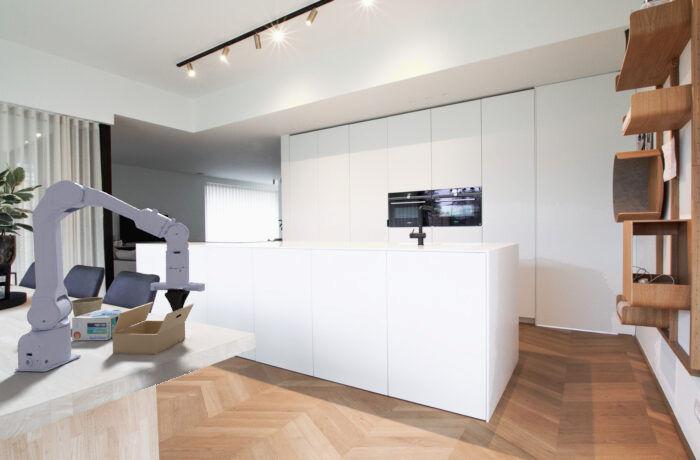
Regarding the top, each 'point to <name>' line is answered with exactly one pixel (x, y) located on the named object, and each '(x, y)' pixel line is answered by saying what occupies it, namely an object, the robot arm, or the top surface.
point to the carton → (147, 338)
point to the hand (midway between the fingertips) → (177, 317)
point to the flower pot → (86, 305)
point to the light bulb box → (95, 325)
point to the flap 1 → (132, 317)
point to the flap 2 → (172, 320)
